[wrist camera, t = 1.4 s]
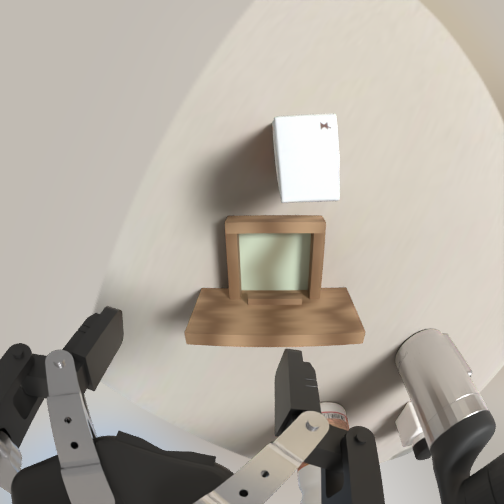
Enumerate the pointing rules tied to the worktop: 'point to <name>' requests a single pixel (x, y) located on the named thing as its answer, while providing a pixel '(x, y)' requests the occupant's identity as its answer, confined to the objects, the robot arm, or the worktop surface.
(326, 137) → the skincare box
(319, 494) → the fruit juice
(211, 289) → the wooden frame stand
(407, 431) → the medicine bottle
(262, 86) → the worktop surface
